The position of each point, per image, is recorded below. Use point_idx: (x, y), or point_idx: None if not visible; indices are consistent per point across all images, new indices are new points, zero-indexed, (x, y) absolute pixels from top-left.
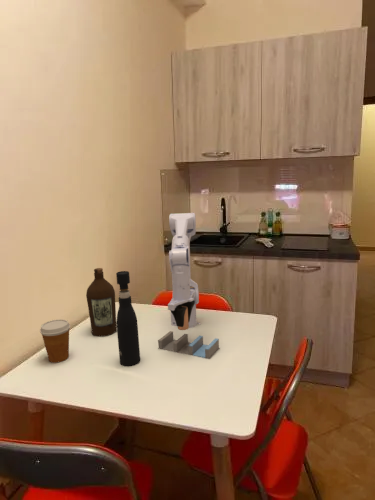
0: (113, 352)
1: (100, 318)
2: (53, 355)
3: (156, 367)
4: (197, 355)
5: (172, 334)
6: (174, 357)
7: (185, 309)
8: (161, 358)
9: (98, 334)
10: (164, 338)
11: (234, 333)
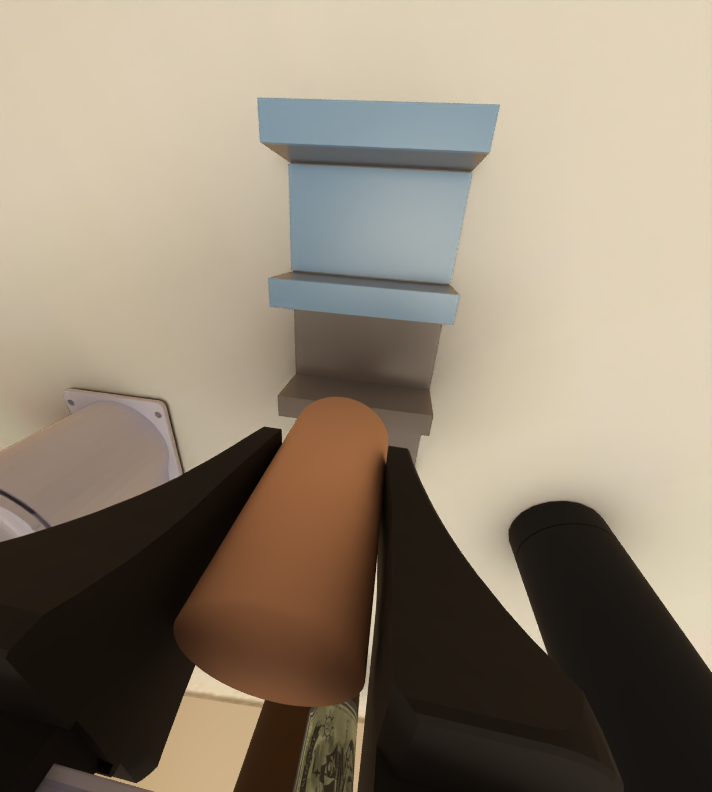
0: None
1: (348, 749)
2: None
3: (579, 430)
4: (457, 245)
5: None
6: (456, 385)
7: (431, 660)
8: (479, 439)
9: None
10: None
11: (18, 129)
